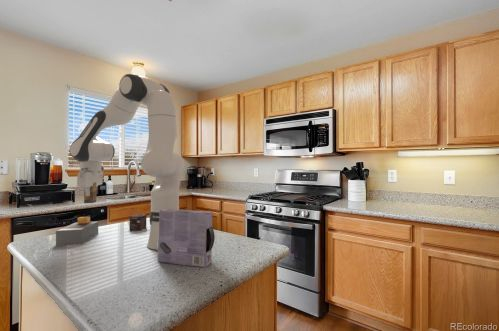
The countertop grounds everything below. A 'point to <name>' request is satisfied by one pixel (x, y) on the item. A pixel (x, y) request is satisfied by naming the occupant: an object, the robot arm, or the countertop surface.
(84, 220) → the switch tab
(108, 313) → the countertop surface
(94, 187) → the brown wooden block
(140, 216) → the box
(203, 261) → the cake pan box
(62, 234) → the switch box
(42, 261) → the countertop surface
